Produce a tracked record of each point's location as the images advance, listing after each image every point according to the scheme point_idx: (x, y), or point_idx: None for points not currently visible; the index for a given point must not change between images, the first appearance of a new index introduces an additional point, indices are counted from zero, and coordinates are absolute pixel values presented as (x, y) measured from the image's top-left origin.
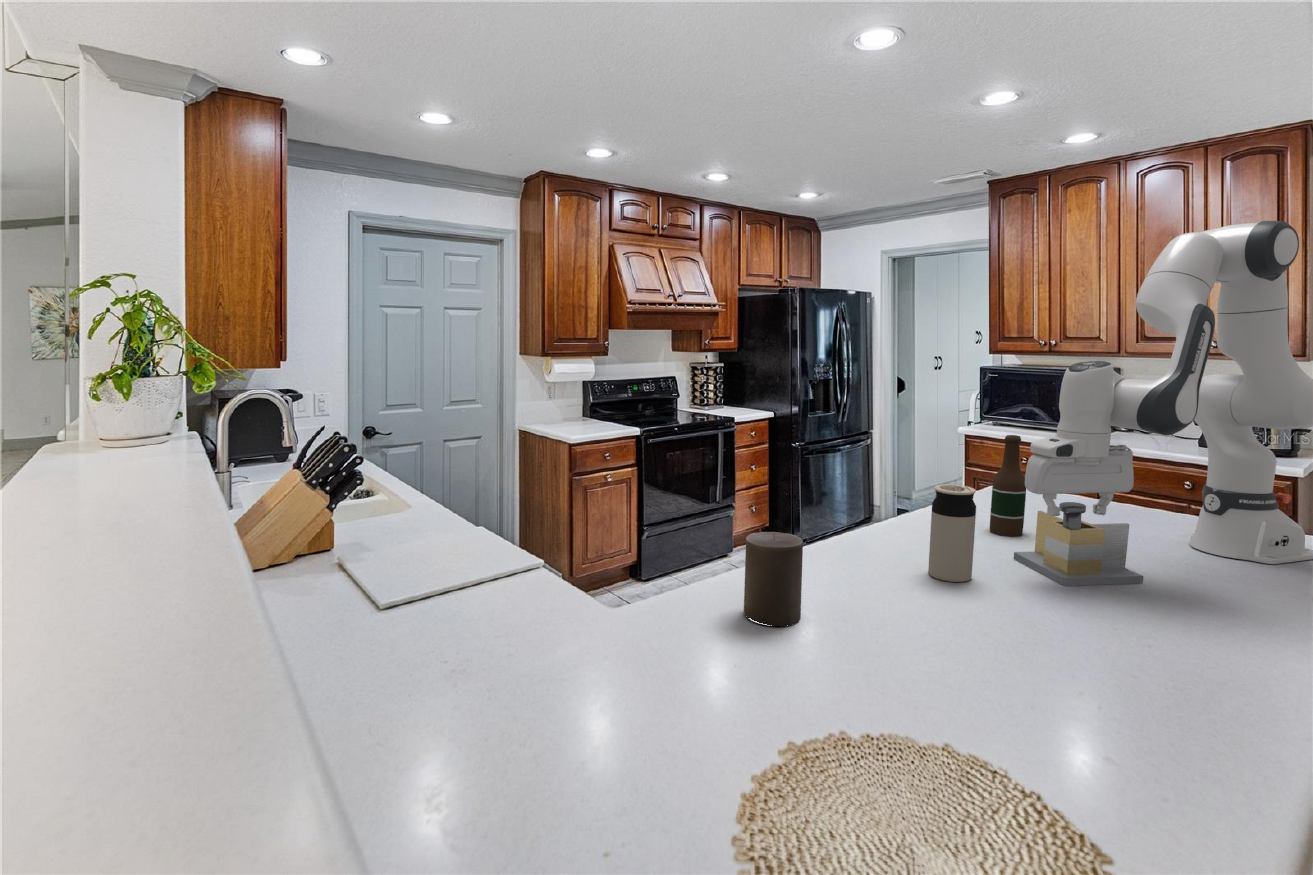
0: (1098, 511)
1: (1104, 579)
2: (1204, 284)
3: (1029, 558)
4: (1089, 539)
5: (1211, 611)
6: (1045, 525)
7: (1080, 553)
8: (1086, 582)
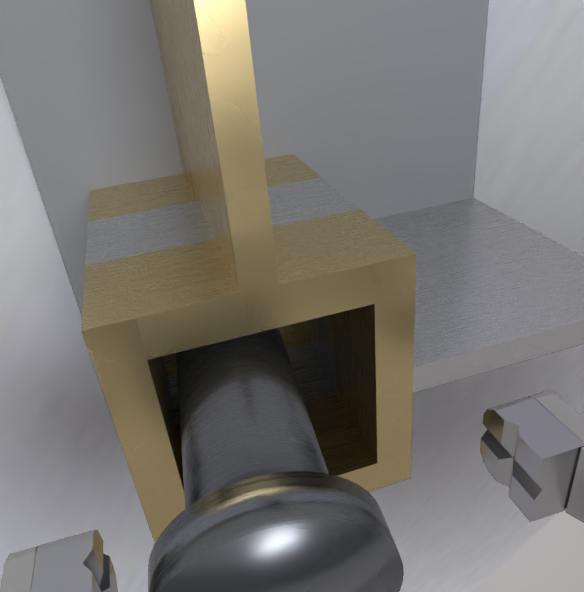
0: (499, 475)
1: None
2: None
3: (30, 91)
4: None
5: (453, 478)
6: (182, 29)
7: None
8: None
